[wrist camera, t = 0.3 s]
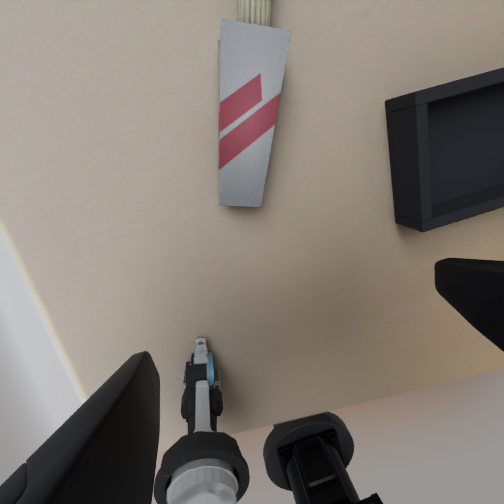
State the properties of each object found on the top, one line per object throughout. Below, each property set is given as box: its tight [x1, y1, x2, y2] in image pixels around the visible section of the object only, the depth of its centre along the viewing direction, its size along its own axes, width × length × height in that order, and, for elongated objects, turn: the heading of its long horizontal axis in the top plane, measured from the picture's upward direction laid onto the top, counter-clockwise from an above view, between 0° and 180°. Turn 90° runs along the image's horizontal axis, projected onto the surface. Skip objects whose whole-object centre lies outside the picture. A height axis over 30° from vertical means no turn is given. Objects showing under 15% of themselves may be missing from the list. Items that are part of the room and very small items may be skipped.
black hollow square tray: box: [385, 68, 504, 232], centre depth 21 cm, size 9×11×3 cm
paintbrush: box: [219, 0, 291, 207], centre depth 17 cm, size 4×3×20 cm
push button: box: [154, 338, 250, 504], centre depth 20 cm, size 7×5×10 cm
